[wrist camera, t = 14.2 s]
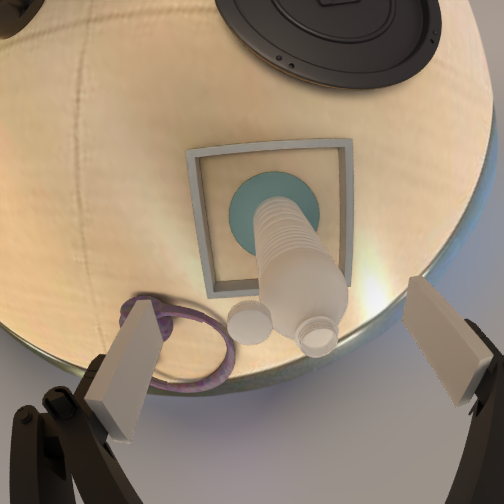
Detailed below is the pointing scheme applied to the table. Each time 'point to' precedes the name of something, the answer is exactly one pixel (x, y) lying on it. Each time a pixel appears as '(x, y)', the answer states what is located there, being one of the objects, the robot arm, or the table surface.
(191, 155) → the teal-dotted square tray
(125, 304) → the headphones
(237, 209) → the teal round pad
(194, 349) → the table surface
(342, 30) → the round tray
